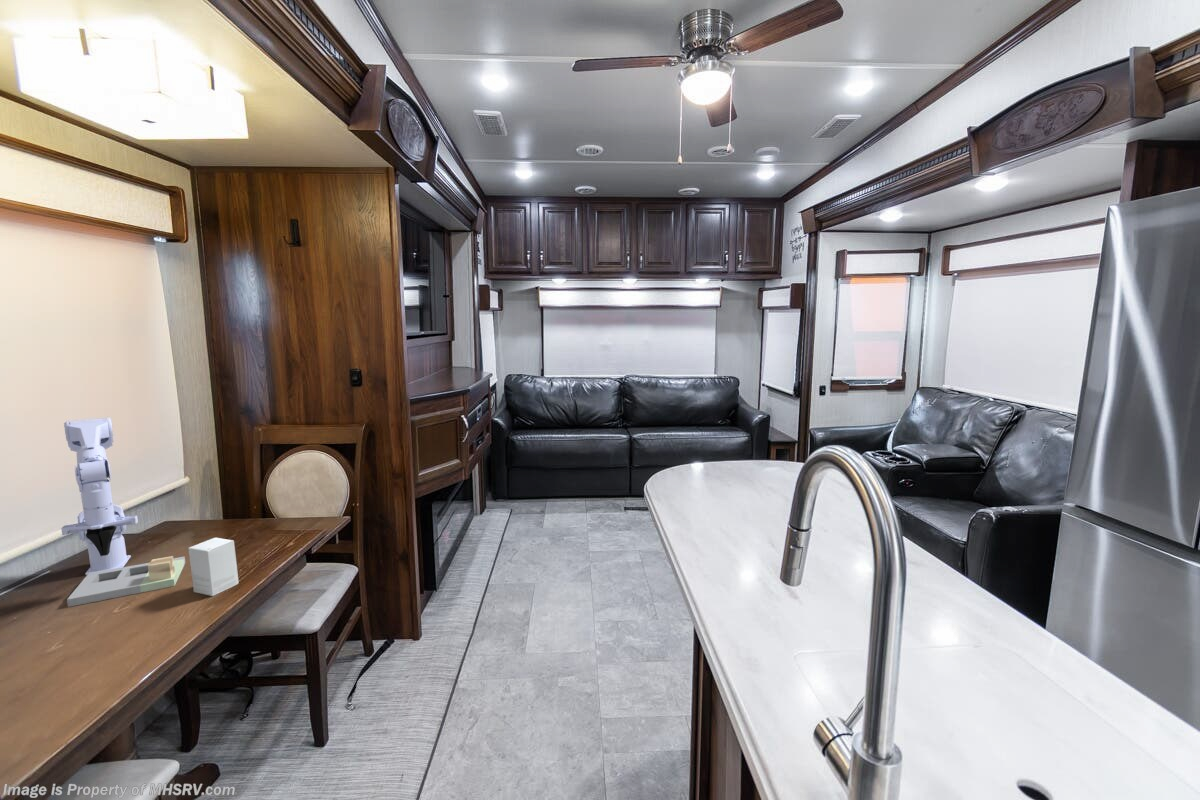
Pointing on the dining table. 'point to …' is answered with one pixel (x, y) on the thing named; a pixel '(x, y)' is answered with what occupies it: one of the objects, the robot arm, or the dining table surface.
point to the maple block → (161, 568)
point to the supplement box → (213, 566)
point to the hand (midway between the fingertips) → (105, 554)
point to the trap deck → (120, 583)
